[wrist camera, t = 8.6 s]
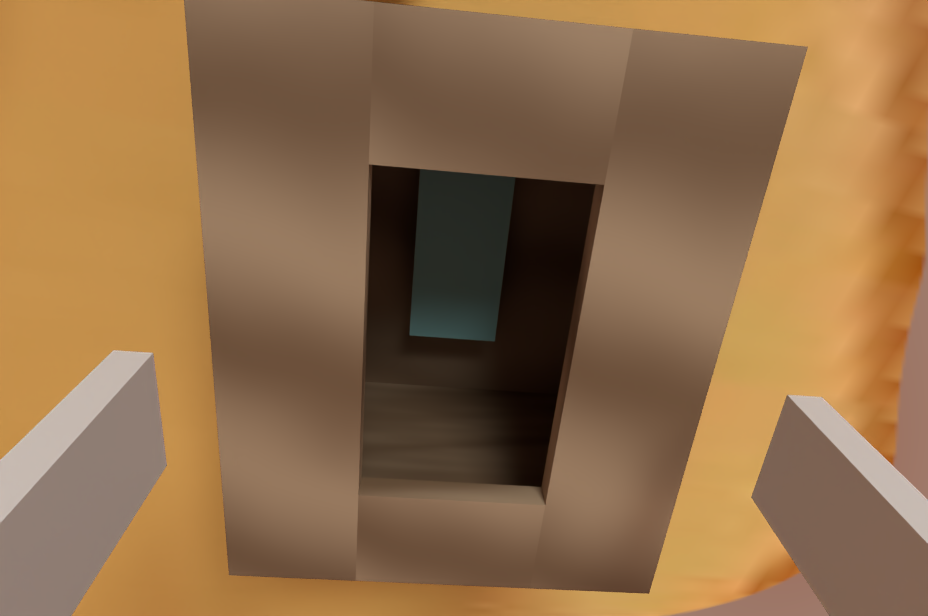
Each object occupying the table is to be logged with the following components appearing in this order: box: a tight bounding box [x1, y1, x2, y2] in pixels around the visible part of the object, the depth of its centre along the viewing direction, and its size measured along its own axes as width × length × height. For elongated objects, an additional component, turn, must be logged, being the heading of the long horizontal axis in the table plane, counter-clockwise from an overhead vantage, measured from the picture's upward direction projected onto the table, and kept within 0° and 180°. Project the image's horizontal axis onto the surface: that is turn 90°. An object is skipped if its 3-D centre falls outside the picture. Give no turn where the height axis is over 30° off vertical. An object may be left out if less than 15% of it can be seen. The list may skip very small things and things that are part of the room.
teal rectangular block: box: [409, 169, 515, 341], centre depth 25 cm, size 7×3×2 cm, turn 175°
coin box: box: [184, 0, 808, 594], centre depth 21 cm, size 16×13×11 cm
